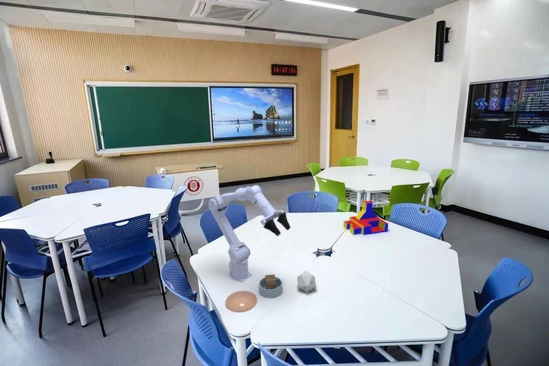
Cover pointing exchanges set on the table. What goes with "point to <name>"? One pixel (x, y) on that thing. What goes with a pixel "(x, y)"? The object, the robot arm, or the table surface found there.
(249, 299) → the peach round plate
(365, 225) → the building blocks toy
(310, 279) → the die
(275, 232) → the robot arm
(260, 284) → the bowl
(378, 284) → the table surface
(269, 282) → the walnut block
